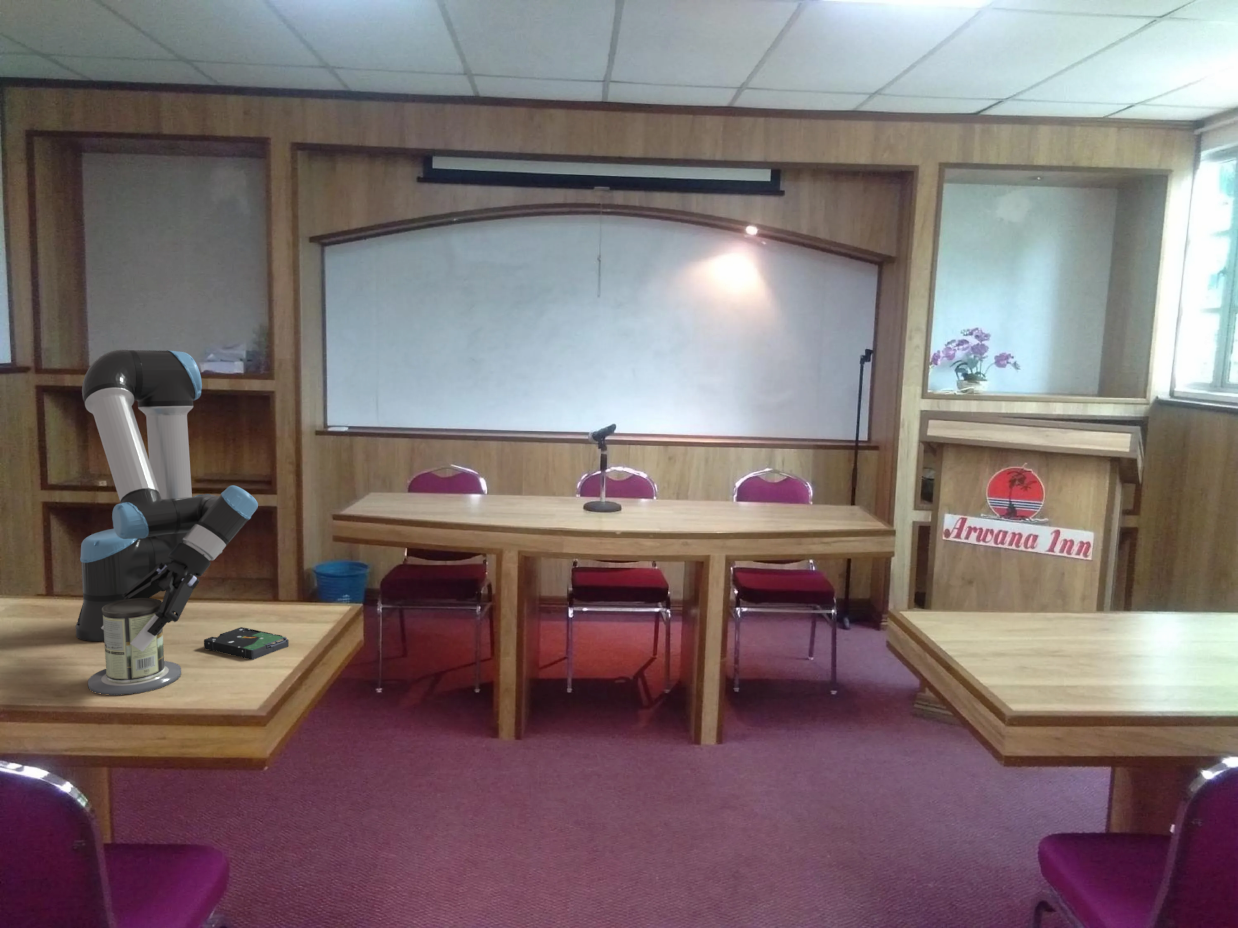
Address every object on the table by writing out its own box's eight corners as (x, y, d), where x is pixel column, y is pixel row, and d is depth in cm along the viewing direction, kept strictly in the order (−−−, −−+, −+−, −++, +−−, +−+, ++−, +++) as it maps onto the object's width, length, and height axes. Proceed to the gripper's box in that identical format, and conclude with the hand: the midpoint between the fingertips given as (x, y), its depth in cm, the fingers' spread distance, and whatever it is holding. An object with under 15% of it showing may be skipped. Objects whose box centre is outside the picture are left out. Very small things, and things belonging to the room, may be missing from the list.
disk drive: (203, 651, 186) (253, 662, 180) (202, 639, 186) (252, 649, 180) (241, 638, 195) (290, 647, 190) (240, 626, 195) (289, 635, 189)
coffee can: (133, 662, 174) (130, 595, 172) (176, 667, 172) (174, 600, 170) (92, 680, 164) (88, 609, 162) (137, 686, 162) (134, 614, 160)
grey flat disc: (67, 691, 161) (67, 685, 161) (128, 662, 177) (128, 657, 177) (144, 698, 159) (143, 692, 159) (198, 668, 175) (198, 663, 174)
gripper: (239, 572, 170) (164, 664, 160) (182, 552, 185) (110, 635, 175) (212, 550, 165) (133, 644, 155) (155, 532, 180) (80, 616, 170)
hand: (121, 639), depth 165 cm, fingers open, 13 cm apart
